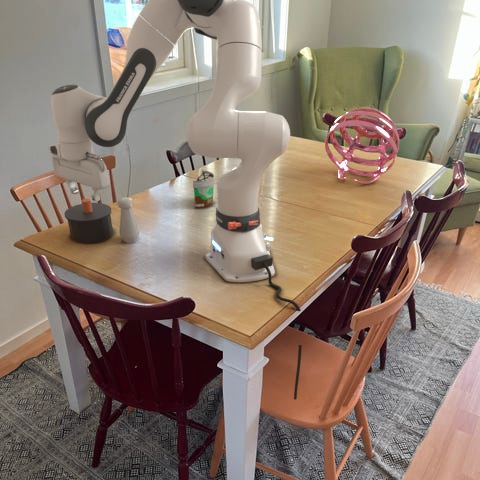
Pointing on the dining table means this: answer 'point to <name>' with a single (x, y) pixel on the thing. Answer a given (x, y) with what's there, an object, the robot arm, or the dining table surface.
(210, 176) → the food container
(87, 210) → the canister lid
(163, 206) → the dining table surface
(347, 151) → the pink ring sphere sculpture
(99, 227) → the canister
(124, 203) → the salt shaker
